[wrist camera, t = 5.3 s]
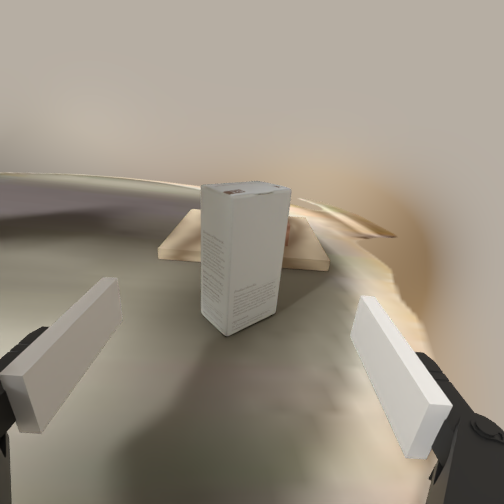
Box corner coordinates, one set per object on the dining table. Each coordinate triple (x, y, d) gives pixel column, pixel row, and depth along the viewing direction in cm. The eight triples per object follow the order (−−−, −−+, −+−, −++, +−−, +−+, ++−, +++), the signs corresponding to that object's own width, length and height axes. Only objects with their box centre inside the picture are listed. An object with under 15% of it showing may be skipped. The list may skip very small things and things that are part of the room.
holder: (158, 258, 36) (156, 225, 35) (191, 216, 55) (191, 193, 53) (328, 271, 37) (334, 238, 35) (304, 225, 55) (307, 202, 53)
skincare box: (248, 295, 30) (257, 178, 25) (278, 316, 27) (295, 187, 22) (197, 315, 26) (196, 181, 21) (226, 342, 23) (233, 193, 18)
